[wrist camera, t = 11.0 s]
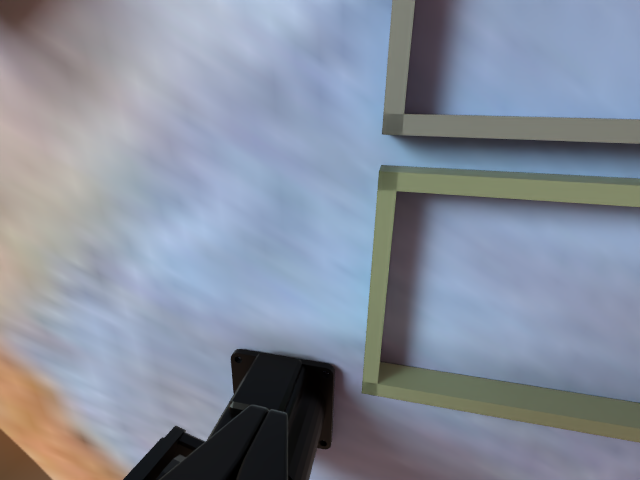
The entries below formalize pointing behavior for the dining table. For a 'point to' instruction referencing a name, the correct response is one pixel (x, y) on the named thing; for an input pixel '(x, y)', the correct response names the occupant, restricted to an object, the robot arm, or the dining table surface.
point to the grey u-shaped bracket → (472, 391)
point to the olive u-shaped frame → (474, 124)
